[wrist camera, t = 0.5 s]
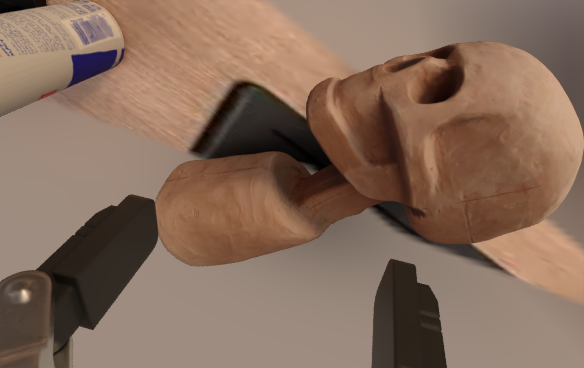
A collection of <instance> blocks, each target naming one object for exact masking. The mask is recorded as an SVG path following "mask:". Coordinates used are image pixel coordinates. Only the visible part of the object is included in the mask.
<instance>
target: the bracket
mask: <svg viewBox="0 0 584 368" xmlns="http://www.w3.org/2000/svg"><path fill="white" fill-rule="evenodd" d="M44 6H47V5H46V0H0V14H3V13H9V12H15V11H21V10H27V9H33V8H39V7H44Z"/></svg>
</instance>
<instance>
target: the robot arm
mask: <svg viewBox="0 0 584 368" xmlns="http://www.w3.org/2000/svg"><path fill="white" fill-rule="evenodd" d="M157 240H158V224H157V215H156V207H155V202H154V200H152V199H149V198H144V197H140V196H136V195H128V196H127V197H126V198H125V199H124V200H123V201H122V202H121V203H120V204H119V205H118V206H112V205H111V206H109V207H107V208H105V209H103V210H101V211H100V212H98V213H96V214H95V215H94V216H93V217H92V218H90V219H89V220H88V221H87V222H86V223H85V225H84V226H82V227H81V228H80V229H79V230H78V231H77V232H76V234H75V235H72V236H71V237H70V238H69V239H68V240H67V241H66V242H65V243H64V244H63V245H62V246H61V247H60V248H59V249H58V250H57V251H56V252H54V253H53V254H52V255H51V256H50V257H49V258H48V259H47V260H46V261H45V262H44V263H43V264H42V265H41V266H40V267H39V268H37V269H36V270H30V271H29V270H28V271H22V272H19V273H16V274H13V275H11V276H9V277H7V278H5V279H3V280H2V281H1V282H0V368H73V337H72V335H73V333H74V332H75V331H76V329H77V328H78V327H79V326H81V327H84V328H88V329H91V330H93V329H94V328H95V327H96V325H97V324H98V323H99V321H100V320H101V318H102V317H103V316H104V315H105V313H106V312H107V310H108V309H109V308H110V307H111V305H112V304H113V303H114V301H115V300H116V299H117V297H118V296H119V294H120V293H121V292H122V291H123V289H124V288H125V287H126V285H127V284H128V283H129V281H130V280H131V279H132V277H133V276H134V275H135V273H136V272H137V270H138V269H139V268H140V267H141V265H142V264H143V263H144V261H145V260H146V259H147V257H148V256H149V255H150V253H151V252H152V251H153V249H154V247H155V245H156V243H157ZM416 276H417V275H416V267H415V265H414V264H410V263H406V262H402V261H398V260H394V259H390V260H389V262H388V265H387V267H386V270H385V272H384V275H383V277H382V280H381V282H380V284H379V287H378V290H377V293H376V297H375V303H374V318H373V345H372V368H447V365H446V358H445V351H444V343H443V336H442V333H441V330H442V329H441V322H440V320H439V317H440V315H439V307H438V301H437V299H436V297H435V295H434V294H433V292H432V290H431V288H430V287H429V286H428V285H425V284H420V283H417V277H416Z"/></svg>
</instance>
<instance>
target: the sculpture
mask: <svg viewBox="0 0 584 368" xmlns="http://www.w3.org/2000/svg"><path fill="white" fill-rule="evenodd" d="M306 116H307V123H308V127H309V129H310V131H311V132H312V134H313V135H314V137H315V138H316V140H317V142H318V143H319V145H320V146H321V148H322V150H323V151H324V152H325V154H326V155H327V157H328V158H329V160H330V161H331V162H332V164H331V165H329V166H327V167H325V168H323V169H322V170H320V171H318V172H316V173H315V174H313V175H311V174H310V173H309V172H308V171H307V169H306V168H305V167H304V166H303V165H301V164H300V163H299V162H298V161H297V160H295V159H294V158H293V157H291V156H290V155H288V154H286V153H283V152H279V151H271V152H263V153H257V154H248V155H235V156H229V157H223V158H216V159H207V160H194V161H188V162H185V163H183V164H180V165H179V166H178V167H177V168H176V169H175V170H174V171H173V172H172V173H171V174H170V176H169V177H168V178H167V180H166V182H165V183H164V185H163V186H162V188H161V190H160V191H159V194H158V196H157V198H156V201H155V207H156V215H157V224H158V234H159V237H160V239H161V242H162V243H163V245H164V247H165V248H166V249H167V250H168V251H169V252H170V253H171V254H172V255H173V256H174V257H176V258H177V259H178V260H180V261H182V262H183V263H185V264H188V265H190V266H212V265H221V264H228V263H235V262H240V261H244V260H247V259H250V258H253V257H258V256H261V255H265V254H269V253H272V252H276V251H280V250H283V249H287V248H290V247H294V246H298V245H301V244H304V243H307V242H309V241H312V240H314V239H316V238H318V237H319V236H321V235H322V233H323V232H324V231H325V230H326V229H327V228H328V227H329V226H330V225H331V224H333V223H334V222H336V221H338V220H341V219H343V218H345V217H348V216H352V215H356V214H359V213H361V212H363V211H364V210H365V209H366V208H368V207H371V206H373V205H376V204H379V203H382V202H385V201H396V202H399V203H403V206H404V209H405V211H406V214H407V216H408V220H409V223H410V224H411V226H412V227H413V228H414V230H415V231H416V232H417V233H419V234H420V235H422V236H423V237H425V238H427V239H429V240H431V241H433V242H438V243H444V244H467V243H477V242H482V241H486V240H490V239H493V238H495V237H498V236H501V235H504V234H507V233H510V232H513V231H517V230H520V229H523V228H526V227H530V226H532V225H535V224H537V223H539V222H541V221H542V220H544V219H545V218H547V217H548V216H549V215H550V214H551V213H552V212H553V211H555V210H556V209H557V207H559V205H560V204H561V203H562V201H563V200H564V198H565V197H566V196H567V194H568V192H569V190H570V188H571V186H572V184H573V183H574V180H575V178H576V175H577V172H578V170H579V167H580V164H581V160H582V154H583V148H584V137H583V132H582V129H581V125H580V122H579V119H578V117H577V115H576V113H575V110H574V108H573V106H572V104H571V102H570V100H569V98H568V96H567V95H566V93H565V91H564V90H563V88H562V86H561V85H560V83H559V82H558V80H557V79H556V78H555V76H554V75H553V74H552V73H551V72H550V71H549V70H548V69H547V68H546V67H545V66H544V65H543V64H542V63H541V62H540V61H538V59H536V58H535V57H533V56H532V55H530V54H529V53H527V52H526V51H523V50H521V49H518V48H515V47H512V46H509V45H506V44H503V43H498V42H491V41H479V42H469V43H456V44H452V45H448V46H445V47H442V48H439V49H436V50H432V51H429V52H425V53H420V54H415V55H409V56H400V57H396V58H393V59H391V60H388V61H387V62H385V63H384V64H381V65H377V66H374V67H372V68H370V69H368V70H366V71H363V72H360V73H358V74H355V75H352V76H350V77H348V78H346V79H344V80H340V79H339V78H328V79H326V80H324V81H322V82H320V83H319V84H317V85H316V86H315V87H314V88H313V89H312V91H311V92H310V94H309V96H308V99H307V103H306Z"/></svg>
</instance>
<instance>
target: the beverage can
mask: <svg viewBox="0 0 584 368" xmlns="http://www.w3.org/2000/svg"><path fill="white" fill-rule="evenodd" d="M123 55H124V38H123V35H122V32H121V29H120V27H119V25H118V24H117V22H116V20H115V19H114V18H113V16H112V15H111V14H110V13H109V12H108V11H107V10H106V9H104V8H103V7H102V6H100V5H99V4H96V3H94V2H92V1H88V0H79V1H74V2H68V3H62V4H56V5H50V6H44V7H39V8H33V9H27V10H21V11H15V12H9V13H3V14H0V117H1V116H3V115H5V114H8V113H10V112H12V111H15V110H17V109H19V108H22V107H24V106H26V105H28V104H31V103H33V102H35V101H38V100H40V99H42V98H45V97H47V96H49V95H52V94H54V93H56V92H59V91H61V90H63V89H65V88H68V87H70V86H72V85H75V84H77V83H79V82H82V81H84V80H86V79H89V78H91V77H93V76H95V75H98V74H100V73H102V72H105V71H107V70H109V69H112V68H114V67H116V66H117V65H118V64H119V63H120V62H121V60H122V58H123Z"/></svg>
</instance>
